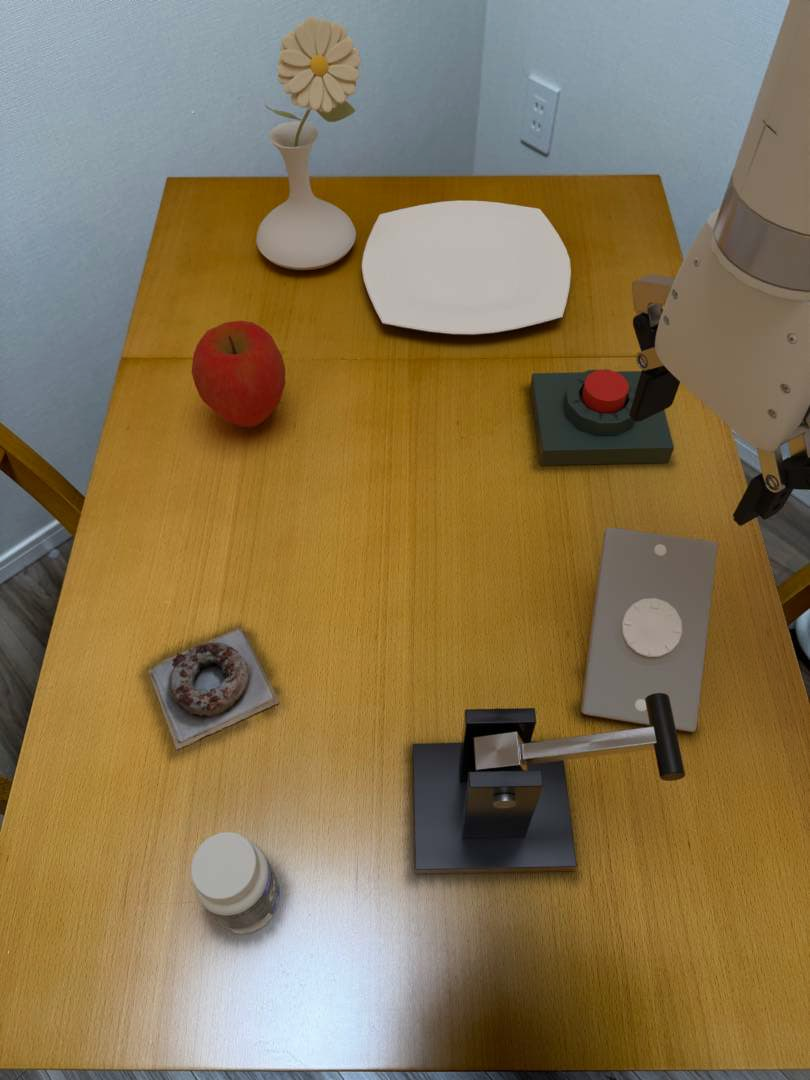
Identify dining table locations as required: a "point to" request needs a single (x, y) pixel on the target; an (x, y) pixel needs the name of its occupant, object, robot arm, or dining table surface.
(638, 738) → the switch lever
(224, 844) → the pill bottle
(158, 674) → the donut
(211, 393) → the apple
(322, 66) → the flower in vase
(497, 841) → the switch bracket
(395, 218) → the plate
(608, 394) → the stop button
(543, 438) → the block
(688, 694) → the light switch
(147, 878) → the dining table surface
